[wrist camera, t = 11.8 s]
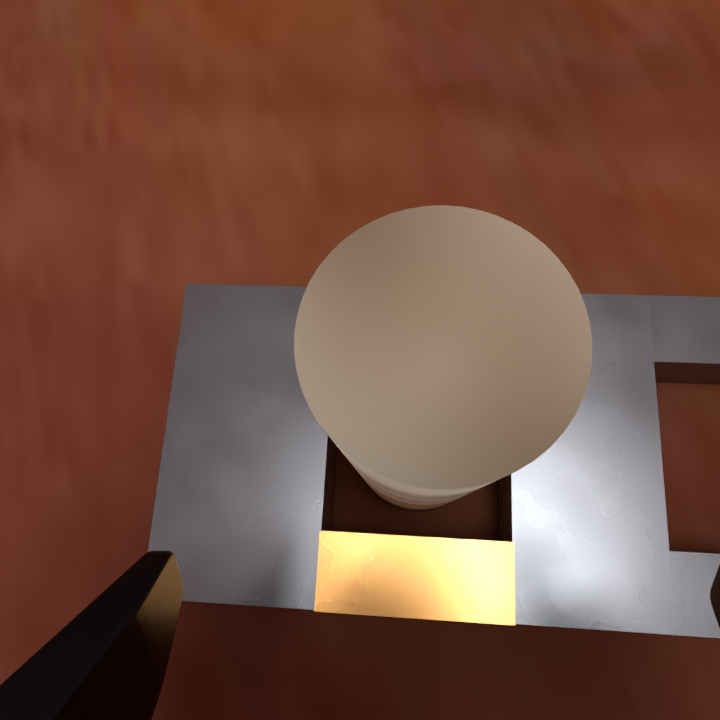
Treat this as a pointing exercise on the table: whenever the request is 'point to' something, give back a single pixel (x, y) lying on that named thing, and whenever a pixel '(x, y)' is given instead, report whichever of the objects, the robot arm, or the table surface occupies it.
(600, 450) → the grey peg hole board
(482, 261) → the birch peg
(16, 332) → the table surface
